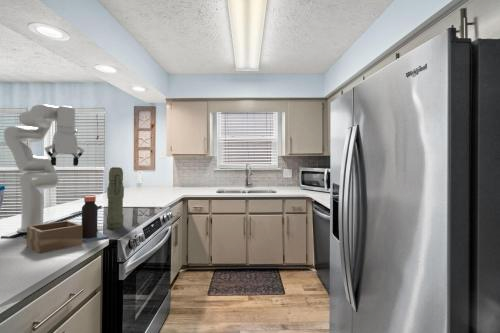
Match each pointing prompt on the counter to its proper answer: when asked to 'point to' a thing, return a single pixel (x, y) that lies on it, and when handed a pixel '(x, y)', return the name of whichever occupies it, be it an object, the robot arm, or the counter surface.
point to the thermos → (115, 198)
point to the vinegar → (89, 217)
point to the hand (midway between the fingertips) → (64, 165)
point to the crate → (54, 236)
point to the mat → (95, 238)
